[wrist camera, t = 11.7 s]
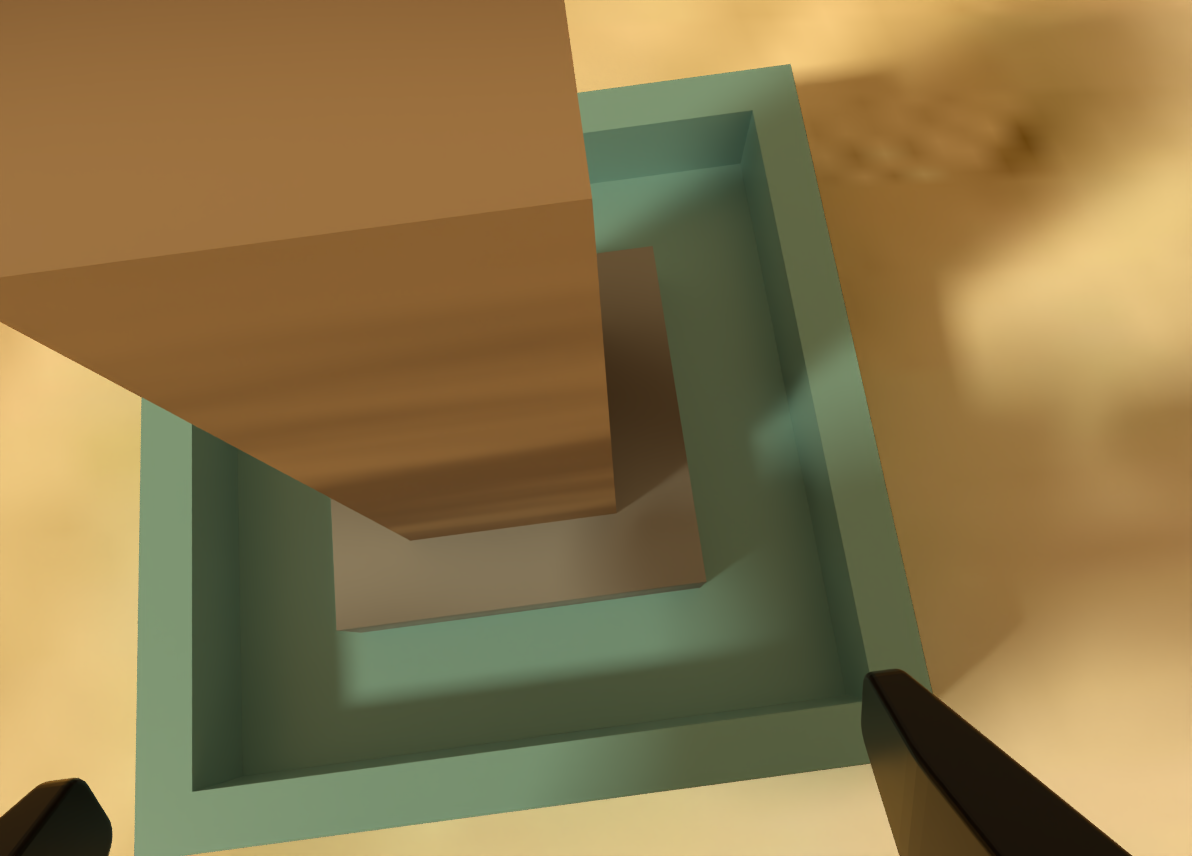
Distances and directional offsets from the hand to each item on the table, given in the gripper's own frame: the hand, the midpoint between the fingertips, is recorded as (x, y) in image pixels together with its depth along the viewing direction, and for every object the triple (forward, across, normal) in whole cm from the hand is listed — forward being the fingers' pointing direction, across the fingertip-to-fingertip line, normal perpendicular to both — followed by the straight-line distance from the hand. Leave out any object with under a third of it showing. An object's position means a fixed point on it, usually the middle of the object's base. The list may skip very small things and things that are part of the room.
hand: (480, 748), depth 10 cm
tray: (+10, 0, +2) cm, 10 cm away
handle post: (+9, 0, +1) cm, 9 cm away
